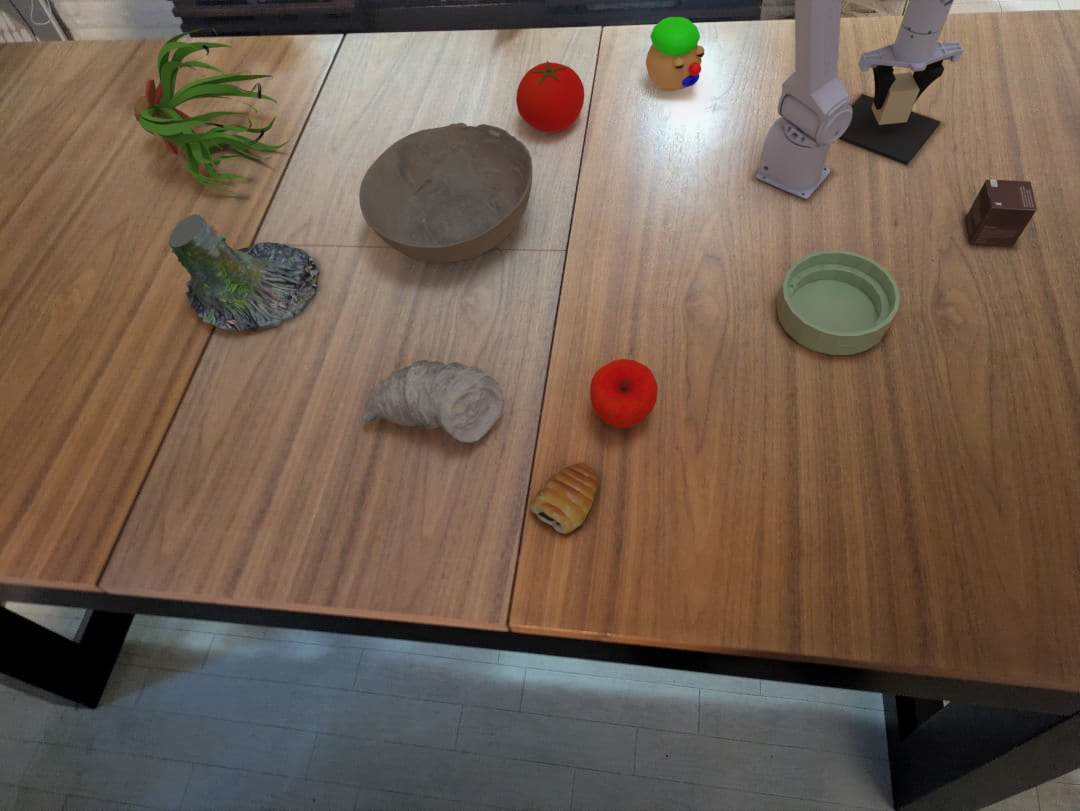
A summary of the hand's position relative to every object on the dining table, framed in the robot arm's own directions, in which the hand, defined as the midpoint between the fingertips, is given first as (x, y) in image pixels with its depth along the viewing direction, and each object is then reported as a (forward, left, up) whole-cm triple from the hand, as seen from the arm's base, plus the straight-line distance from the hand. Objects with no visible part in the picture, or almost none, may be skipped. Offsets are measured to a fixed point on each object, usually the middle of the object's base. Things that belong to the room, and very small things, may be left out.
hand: (892, 104), depth 115 cm
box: (+23, -13, -5) cm, 27 cm away
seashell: (-22, -87, -5) cm, 90 cm away
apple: (-2, -71, -5) cm, 71 cm away
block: (0, 0, -2) cm, 2 cm away
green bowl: (+12, -40, -5) cm, 42 cm away
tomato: (-49, -29, -5) cm, 57 cm away
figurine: (-36, -9, -5) cm, 37 cm away
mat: (0, 0, -5) cm, 5 cm away
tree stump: (-63, -88, -5) cm, 108 cm away
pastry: (0, -86, -5) cm, 86 cm away
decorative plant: (-96, -70, -5) cm, 119 cm away
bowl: (-46, -58, -5) cm, 74 cm away
